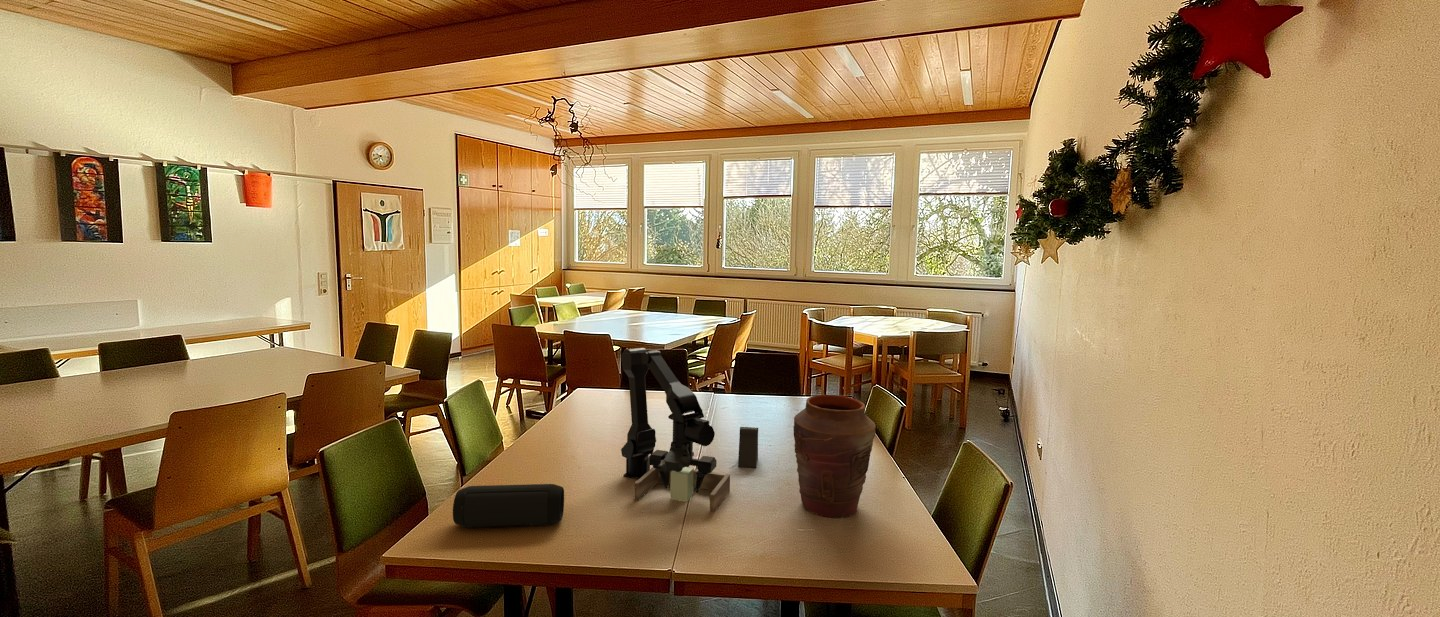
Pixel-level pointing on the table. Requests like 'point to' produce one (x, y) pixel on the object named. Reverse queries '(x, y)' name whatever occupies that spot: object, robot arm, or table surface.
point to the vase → (832, 453)
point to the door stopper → (748, 447)
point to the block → (682, 484)
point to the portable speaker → (508, 505)
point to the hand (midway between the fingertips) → (681, 490)
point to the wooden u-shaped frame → (710, 482)
